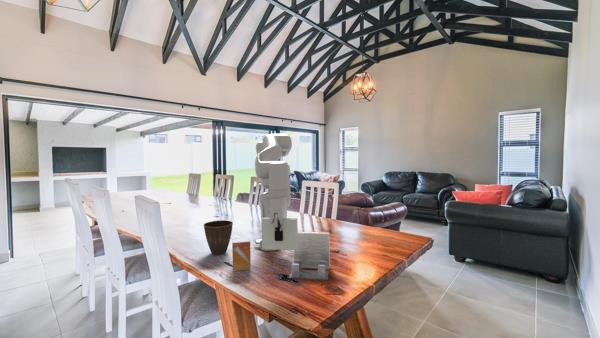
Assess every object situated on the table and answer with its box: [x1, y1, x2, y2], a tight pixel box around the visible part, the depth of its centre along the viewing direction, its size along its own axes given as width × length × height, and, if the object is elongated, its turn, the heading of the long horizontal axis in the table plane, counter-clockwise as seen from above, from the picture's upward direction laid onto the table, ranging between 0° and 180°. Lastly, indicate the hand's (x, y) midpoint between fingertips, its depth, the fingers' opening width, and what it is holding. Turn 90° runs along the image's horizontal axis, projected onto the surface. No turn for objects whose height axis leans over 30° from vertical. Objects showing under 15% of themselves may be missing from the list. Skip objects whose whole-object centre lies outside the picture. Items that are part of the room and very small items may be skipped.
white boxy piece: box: [288, 231, 331, 282], centre depth 122 cm, size 16×14×16 cm
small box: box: [231, 237, 252, 272], centre depth 129 cm, size 8×6×13 cm
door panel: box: [260, 217, 299, 251], centre depth 111 cm, size 14×2×12 cm, turn 80°
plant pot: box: [203, 220, 233, 256], centre depth 150 cm, size 15×15×16 cm
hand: (279, 239), depth 111 cm, fingers closed on door panel, 2 cm apart
